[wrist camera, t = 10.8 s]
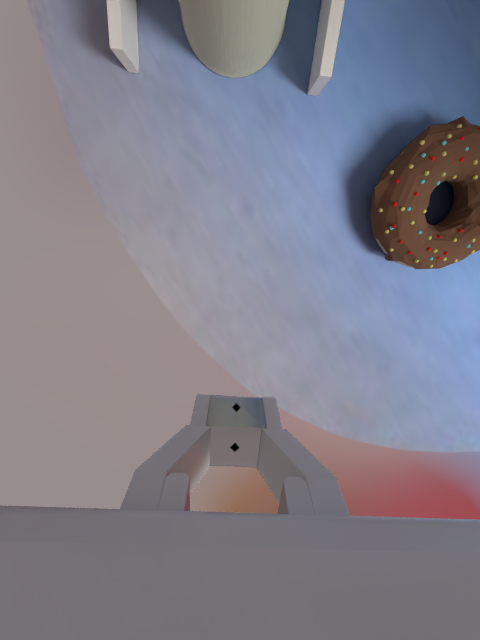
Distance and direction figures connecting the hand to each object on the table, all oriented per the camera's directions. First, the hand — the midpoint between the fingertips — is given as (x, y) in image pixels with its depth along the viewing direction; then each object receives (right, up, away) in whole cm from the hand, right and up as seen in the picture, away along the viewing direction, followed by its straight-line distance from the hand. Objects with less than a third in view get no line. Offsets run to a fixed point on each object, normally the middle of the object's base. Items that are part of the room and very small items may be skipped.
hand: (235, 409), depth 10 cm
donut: (+21, +17, +20) cm, 33 cm away
